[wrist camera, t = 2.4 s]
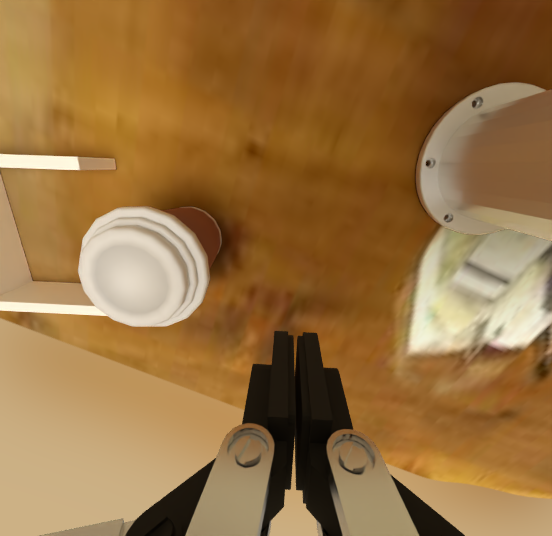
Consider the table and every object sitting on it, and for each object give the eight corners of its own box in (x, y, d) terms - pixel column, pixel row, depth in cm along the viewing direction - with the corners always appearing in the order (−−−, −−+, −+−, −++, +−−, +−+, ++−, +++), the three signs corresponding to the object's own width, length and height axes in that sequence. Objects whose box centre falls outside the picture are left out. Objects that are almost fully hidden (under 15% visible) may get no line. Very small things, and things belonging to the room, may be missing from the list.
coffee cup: (188, 291, 31) (132, 361, 20) (131, 226, 29) (30, 264, 18) (251, 247, 29) (229, 298, 18) (195, 173, 27) (128, 178, 15)
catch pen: (114, 158, 27) (77, 156, 22) (136, 293, 32) (109, 315, 27) (-16, 154, 27) (-80, 151, 22) (26, 288, 32) (-19, 309, 27)
